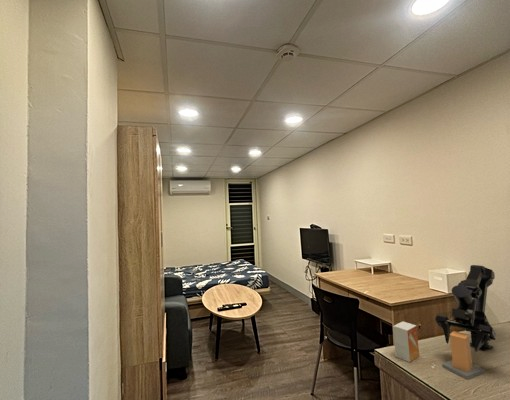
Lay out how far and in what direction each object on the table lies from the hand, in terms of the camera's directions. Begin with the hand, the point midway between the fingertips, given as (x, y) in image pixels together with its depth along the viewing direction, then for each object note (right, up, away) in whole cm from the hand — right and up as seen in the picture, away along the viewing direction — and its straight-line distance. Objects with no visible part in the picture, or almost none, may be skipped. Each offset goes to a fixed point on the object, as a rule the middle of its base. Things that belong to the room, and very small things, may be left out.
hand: (460, 347), depth 104 cm
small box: (-15, -10, +11) cm, 21 cm away
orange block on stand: (0, -7, -1) cm, 7 cm away
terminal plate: (0, -8, -1) cm, 8 cm away
